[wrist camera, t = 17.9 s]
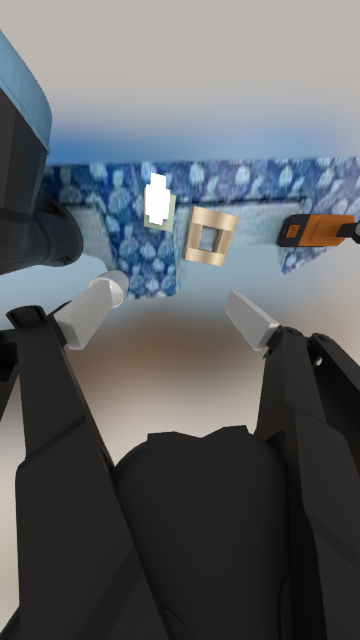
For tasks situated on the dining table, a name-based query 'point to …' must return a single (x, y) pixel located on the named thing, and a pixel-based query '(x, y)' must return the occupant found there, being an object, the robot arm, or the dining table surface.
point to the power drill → (318, 230)
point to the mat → (169, 222)
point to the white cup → (114, 285)
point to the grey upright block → (157, 200)
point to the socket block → (222, 240)
